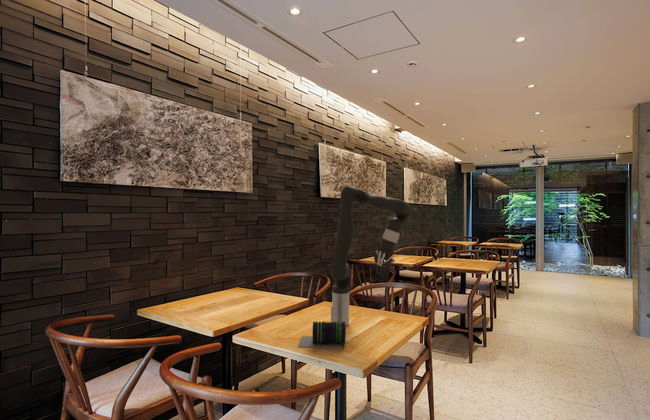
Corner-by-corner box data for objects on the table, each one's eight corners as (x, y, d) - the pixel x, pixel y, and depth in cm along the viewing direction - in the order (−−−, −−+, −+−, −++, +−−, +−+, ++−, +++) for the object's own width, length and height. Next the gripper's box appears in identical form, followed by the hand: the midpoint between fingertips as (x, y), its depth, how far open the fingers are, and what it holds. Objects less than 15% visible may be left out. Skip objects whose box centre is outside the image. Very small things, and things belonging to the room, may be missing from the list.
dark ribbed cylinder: (344, 342, 175) (313, 342, 175) (344, 321, 178) (313, 320, 178) (345, 345, 166) (312, 344, 166) (345, 322, 168) (312, 321, 168)
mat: (297, 347, 167) (297, 346, 167) (302, 336, 181) (302, 336, 181) (341, 348, 165) (341, 348, 165) (343, 338, 179) (343, 337, 179)
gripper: (375, 234, 182) (363, 267, 182) (395, 242, 172) (383, 277, 172) (384, 237, 187) (372, 269, 187) (404, 245, 177) (392, 279, 178)
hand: (377, 273), depth 180 cm, fingers closed
